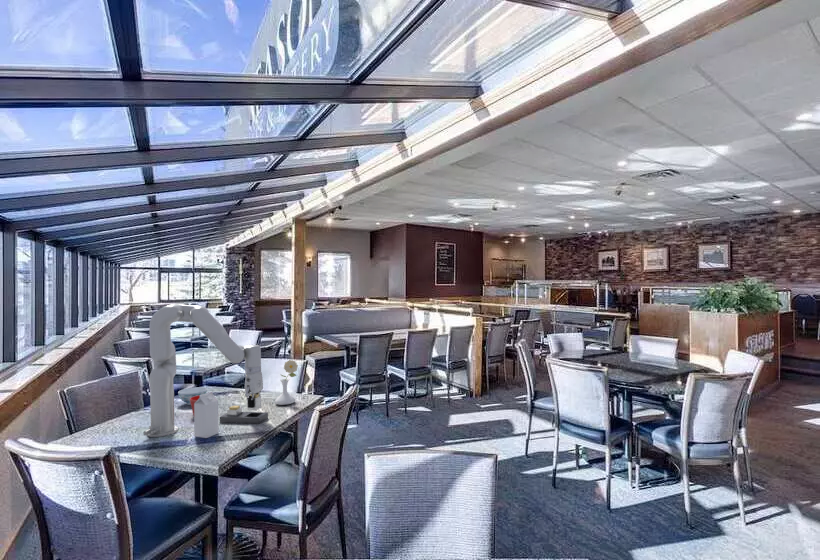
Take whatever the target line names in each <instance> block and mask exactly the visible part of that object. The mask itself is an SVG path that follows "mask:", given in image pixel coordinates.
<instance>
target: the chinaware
mask: <svg viewBox="0 0 820 560" xmlns="http://www.w3.org/2000/svg"><path fill="white" fill-rule="evenodd" d="M207 391H208V388H207V387H203V386H199V387H197V386H195V387H187V388H183V389H181V390H179V391H178V392H177V394H178V396H179V399H180V400H181V401H182V402H184V403H186V404H185V405H186V406H191V402H190V398H192V397H194V396H198V395H203V394H206V393H208V392H207Z"/></svg>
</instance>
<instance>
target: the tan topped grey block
mask: <svg viewBox="0 0 820 560" xmlns="http://www.w3.org/2000/svg"><path fill="white" fill-rule="evenodd" d="M242 412H243V408H242V406H240V405H232V406H229V408H228V409H226V413H227V416H239V415H241V414H242Z"/></svg>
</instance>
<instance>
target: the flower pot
mask: <svg viewBox="0 0 820 560" xmlns="http://www.w3.org/2000/svg"><path fill="white" fill-rule="evenodd" d="M199 398H200V395H198V396H194V397H192V398H190V402H191V405H190V407H191V412H192V415H193V417H194V403H195V402H196V401H197V400H198V399H199Z"/></svg>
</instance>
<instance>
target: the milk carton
mask: <svg viewBox="0 0 820 560" xmlns="http://www.w3.org/2000/svg"><path fill="white" fill-rule="evenodd" d="M193 419H194V437H197V438H203V439H208V438H210V437H212V436H216V435H217V434H219V433H220V432H219V431H220V430H219V429H220V428H219V426H220V425H219V400H218V399H217V398H216V396H215V395H214V393H213V391H210V392H206V394H203V395H200V398H199V399H198V400H197V401H196V402H195V403H194V416H193Z"/></svg>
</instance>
